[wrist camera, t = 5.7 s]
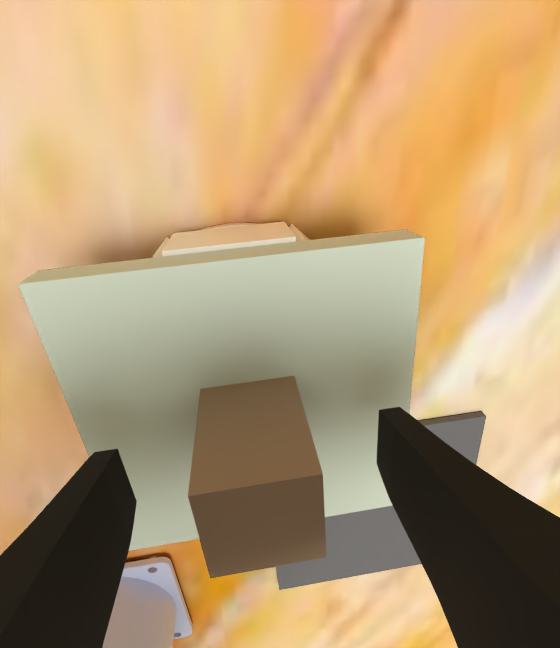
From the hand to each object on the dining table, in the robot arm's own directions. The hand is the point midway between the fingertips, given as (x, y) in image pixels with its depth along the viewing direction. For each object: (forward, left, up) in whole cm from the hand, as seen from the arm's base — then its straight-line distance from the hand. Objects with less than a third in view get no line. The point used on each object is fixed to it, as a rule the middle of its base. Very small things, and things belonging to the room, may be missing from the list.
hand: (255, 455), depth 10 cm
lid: (0, 0, -3) cm, 3 cm away
